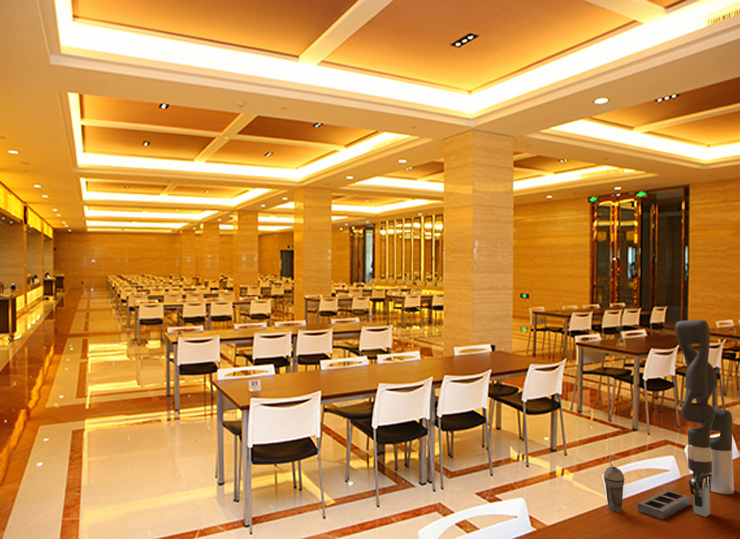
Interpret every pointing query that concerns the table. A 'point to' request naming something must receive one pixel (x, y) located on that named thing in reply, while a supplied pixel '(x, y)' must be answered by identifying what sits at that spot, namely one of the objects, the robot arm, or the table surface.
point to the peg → (703, 503)
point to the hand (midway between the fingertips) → (701, 504)
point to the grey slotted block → (663, 504)
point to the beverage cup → (614, 487)
